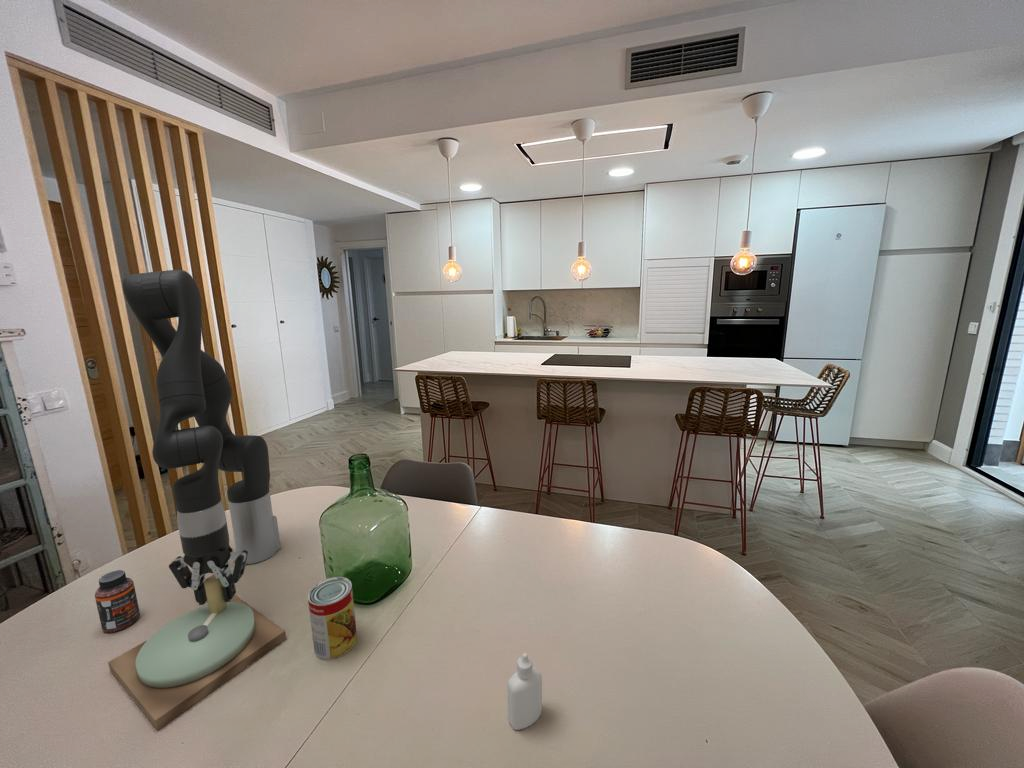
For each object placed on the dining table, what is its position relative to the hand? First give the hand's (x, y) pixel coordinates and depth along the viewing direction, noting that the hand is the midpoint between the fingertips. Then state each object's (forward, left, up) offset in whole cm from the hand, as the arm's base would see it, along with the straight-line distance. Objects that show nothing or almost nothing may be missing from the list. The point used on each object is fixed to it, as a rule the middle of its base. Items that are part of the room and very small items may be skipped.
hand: (216, 600), depth 85 cm
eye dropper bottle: (-16, +64, -6) cm, 66 cm away
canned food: (-10, +24, -7) cm, 27 cm away
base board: (+5, +4, -6) cm, 9 cm away
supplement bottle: (+10, -20, -6) cm, 23 cm away
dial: (+5, +4, -4) cm, 8 cm away
